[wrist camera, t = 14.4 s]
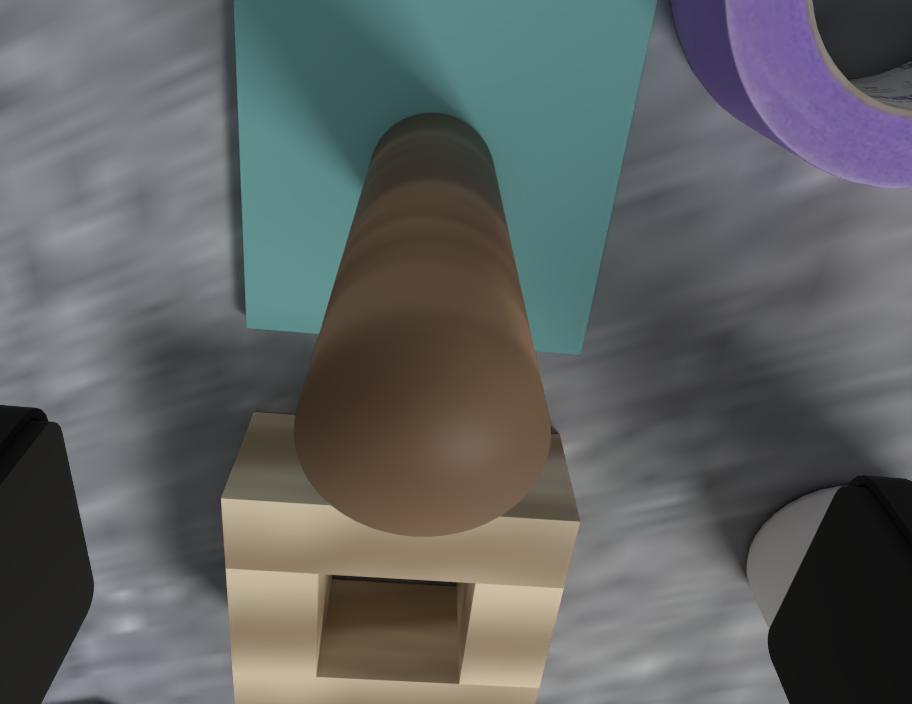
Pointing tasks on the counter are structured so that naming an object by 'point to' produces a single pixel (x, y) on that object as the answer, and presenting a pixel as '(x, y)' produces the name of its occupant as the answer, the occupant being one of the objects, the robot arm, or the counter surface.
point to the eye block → (385, 591)
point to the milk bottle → (784, 549)
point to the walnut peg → (425, 347)
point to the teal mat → (434, 91)
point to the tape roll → (799, 87)
